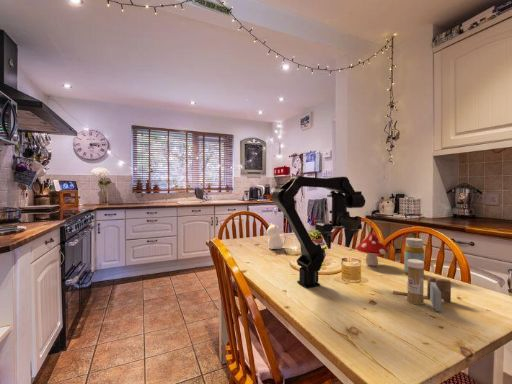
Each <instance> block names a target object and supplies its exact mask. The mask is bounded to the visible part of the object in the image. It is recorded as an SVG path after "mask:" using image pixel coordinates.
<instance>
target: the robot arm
mask: <svg viewBox="0 0 512 384" xmlns="http://www.w3.org/2000/svg"><path fill="white" fill-rule="evenodd" d="M348 178H349V177H347V176H333V177H326V178H324V177H314V176H313V177H310V176H302V175H294V176H292V177H291V178H290V179H289V180H288V181H287V182H285V183H284V184H283V185H281V186H280V187H279V188H277V189H275V190H273V192H272V193H271V197H270V198H271V201H272V203H274V205H275V206H276V207H277V208H278V210H280V211H281V212H282V213H283V214H284V217H285V218H286V220H287V223H289V226H290V228H291V230H292V231H293V234H294V235H295V236H296V239H297V241H298V242H299V245H300V253H301V255H300V256H299V257H298V258H297V260H296V263H297V266H298V267H299V270H298V271H299V275H298V277H299V280H296V283H297V284H299V285H300V286H302V287H304V288H306V289H310V288H314V287H319V286H321V283H319V272H320V271H321V269H322V266H323V263H324V260H325V251H324V250H323V249H322V245H321V243H319V242H317V241H314V240H312V239H311V237H310V235H309V232H308V231H307V228H306V227H305V225H304V223H303V221H302V220H301V218H300V216H299V214H298V212H297V209H296V201H295V196H296V195H297V194H298V193H299V191H300V189H301V188H302V187H304V188H305V187H307V188H322V189H326V190H328V191H330V192H329V193H327V195H326V197H328V198H331V210H329V214H331V220H329V222H316V224H315V231H317V232H318V233H319V234H321V237H322V239H323V240H324V242H325V245H326V247H327V249H329V250H331V248H332V236H333V234H334V232H333V230H335V229H336V230H337V229H338V230H339V229H343V230H344V231H343V232H344V237H345V239H344V240H345V246H346V247H347V248H349V247H350V245H351V243H352V241H353V238H354V236H355V235H356V233H358V232H360V230H363V224H362V217H361V216H359V215H357V216H351V215H350V211H348V209H361V208H364V207H365V204H366V198H365V196H364V195H363V194H362V191H359V190H358V191H357V190H356V191H355V190H354V187H353V185H352V184H351V182H350V180H349V179H348Z"/></svg>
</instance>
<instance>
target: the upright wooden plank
mask: <svg viewBox="0 0 512 384" xmlns="http://www.w3.org/2000/svg"><path fill="white" fill-rule="evenodd" d="M430 282H434V283H435V284H436V285H437V287H438V289H439V290H440V292H441V299H444V303H452V301H451V298H452V297H451V296H452V281H451V279H448V278H447V279H446V278H439V277H433V276H429V277H427V288H426V289H427V291H426V292H427V293H426V294H427V295H424V294H423V300H424V299H426V300H430ZM392 293H393V294H394V295H399V296H406V297H408V292H404V291H397V290H392Z"/></svg>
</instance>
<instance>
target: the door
mask: <svg viewBox="0 0 512 384" xmlns="http://www.w3.org/2000/svg"><path fill="white" fill-rule="evenodd" d="M429 300H430V302H431V303H432V304H431V305H432V306H433V308H434V310H435V311H436V312H440V313H441V312H442V311H441V310H442V303H445V302H444V299H441V292H440V290H439V289H438V287H437V285H436V284H435V283H434V282H430V299H429Z"/></svg>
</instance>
